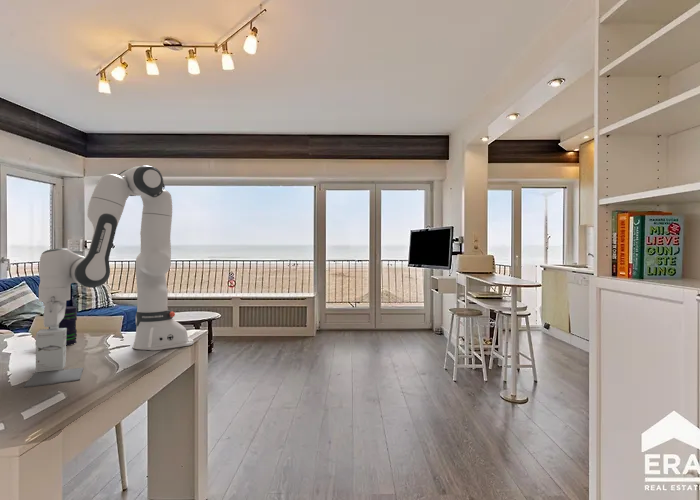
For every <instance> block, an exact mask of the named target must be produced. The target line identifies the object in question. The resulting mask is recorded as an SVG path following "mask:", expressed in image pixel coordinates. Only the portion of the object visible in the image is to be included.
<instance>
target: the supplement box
mask: <svg viewBox="0 0 700 500" xmlns="http://www.w3.org/2000/svg"><path fill="white" fill-rule="evenodd" d="M66 332H67V328H57V329H49V328H42V329H41V328H40V329H39V330H38V331H37V332H36V333H35V334H36V335H35V370H34V371H35V372H34V373H40V372H49V371H57V370H64V368H65V367H66V363H67V360H66V359H67V346H66Z"/></svg>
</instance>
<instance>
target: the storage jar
mask: <svg viewBox="0 0 700 500" xmlns="http://www.w3.org/2000/svg"><path fill="white" fill-rule="evenodd" d="M77 309H78V308H77V306H74V305H73V306H72V305H71V306H69V305H68V306H67V305H66V309H65V315H64V318H63V319H62V321H61V322H60V323H59V328H67V332H66V345H68V346H72V345H71V344H73V345H75V344H74V343H76V344H77V337H78V334H77V333H78V331H77V320H78V316H77V315H78V313H77V312H78V311H77ZM48 329H50V327H48Z"/></svg>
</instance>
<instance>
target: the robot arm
mask: <svg viewBox="0 0 700 500" xmlns="http://www.w3.org/2000/svg"><path fill="white" fill-rule="evenodd" d="M165 187H166V186H165V184H164V177H163V175H162V173H161V171H160V170H159V169H158V168H157V167H154V166H152V165H140V166H134V167H131V168H129V169H128V168H127V169H125V170H122V171H121V172H120V173H118V174H114V173H107V174H104V175H102V176H101V177H100V179H99V181H98V182H97V183H96V186H95V188H94V189H93V191H92V194H91V197H90V200H89V203H88V208H87V218H88V220H89V222H90V223H91V224H92V226H93V235H92V238H91V241H90V245H89V248H88V252H87V254H86V256H83V255H80V254H78V253H76V252H74V251H72V250H70V249H69V248H67V247H59V248H51V249H47V250H45V251H43V252H42V253H41V255H40V256H39V257H40V259H39V262H38V263H39V264H38V276H39V285H38V302H40V303H43V305H42V306H43V307H44V309H43V326H44V328H49V327H50V329H57V328H59V323H60V322H61V321H62V319H63V318H64V315H65V309H66V306H67V301H70V300H71V284H79V285H82V286H83V287H85V288H91V289H93V288H98V287H100V286H103V285H104V284H105V283H106V282H107V281H108V279H109V277H110V276H111V275H110V274H111V268H110V254H111V251H112V247H113V243H114V240H115V237H116V236H115V235H116V231H117V227H118V225H119V223H120V220H121V218H122V215H123V212H124V209H125V206H126V203H127V200H128V198H129V197H136V196H137V197H140V199H141V200H142V201H141V202H142V205H143V206H142V212H141V223H140V233H139V234H140V253H139V254H138V255H137V256H136V258H135V277H136V278H135V279H136V289H137V293H136V294H137V295H136V299H137V301H136V304H137V310H136V312H135V325H136V326H135V327H136V330H135V331H136V332H135V337H134V341H133V343H132V349H136V350H142V351H143V350H148V351H160V350H167V349H174V348H180V347H181V348H182V347H188V346H191V345H192V346H193V345H194V339H192V338H191V337H189V335H188V331H187V329H186V327H185V326H183V325H182V324H181V323H179V322H178V321H177V320H175V319H173V318H174V317H175V316H176V313H175V311H171V310H170V309H169V308H168V307H169V306H168V304H169V302H168V301H169V300H168V292H169V291H168V286H167V278H166V274H167V273H168V272H169V270H170V269H171V266H172V261H171V260H172V259H171V258H172V251H171V249H172V246H171V245H172V243H171V232H172V222H173V221H172V220H173V199H172V194H171V192H169V190H166V189H165Z"/></svg>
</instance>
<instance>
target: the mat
mask: <svg viewBox="0 0 700 500" xmlns="http://www.w3.org/2000/svg"><path fill="white" fill-rule="evenodd" d="M83 370H84V367H77V368H67V369H63V370H56V371H45V372H37V373H35V372H33V373H32V374H31V376H30V377H29V378H28V380H27V381H26V383H25V385H23V387H24V388H31V387H39V386H47V385H57V384H63V383H70V382H71V381H72V382H78V380H80V381H81V378H82V375H83Z"/></svg>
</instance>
